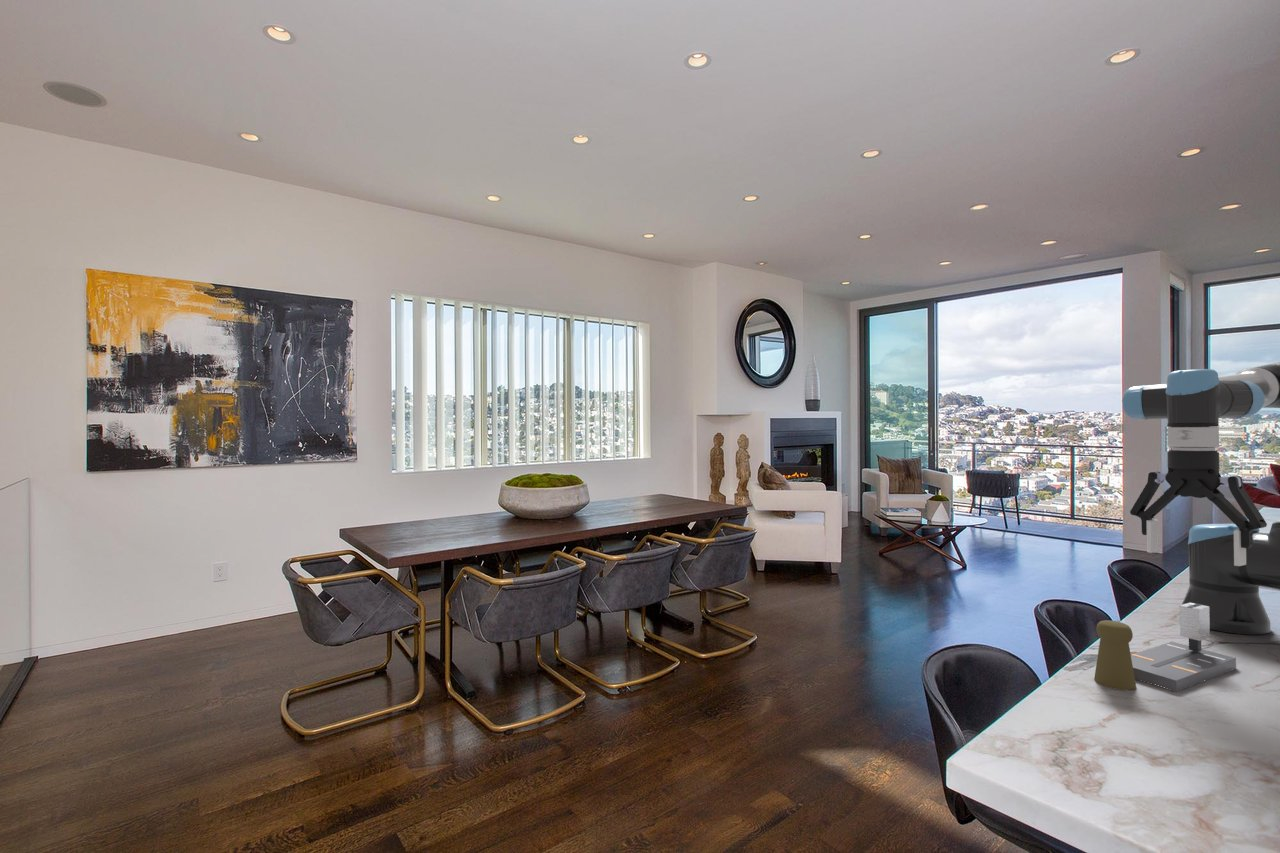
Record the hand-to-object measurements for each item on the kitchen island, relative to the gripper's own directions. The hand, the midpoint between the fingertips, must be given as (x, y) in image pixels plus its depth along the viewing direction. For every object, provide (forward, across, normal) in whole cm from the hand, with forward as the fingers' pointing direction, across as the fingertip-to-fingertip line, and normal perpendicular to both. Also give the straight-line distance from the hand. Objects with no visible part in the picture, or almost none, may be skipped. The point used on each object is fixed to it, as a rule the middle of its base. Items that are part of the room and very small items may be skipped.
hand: (1194, 558), depth 120 cm
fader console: (+20, 0, -8) cm, 22 cm away
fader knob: (+18, 0, 0) cm, 18 cm away
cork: (+20, -2, -24) cm, 32 cm away
